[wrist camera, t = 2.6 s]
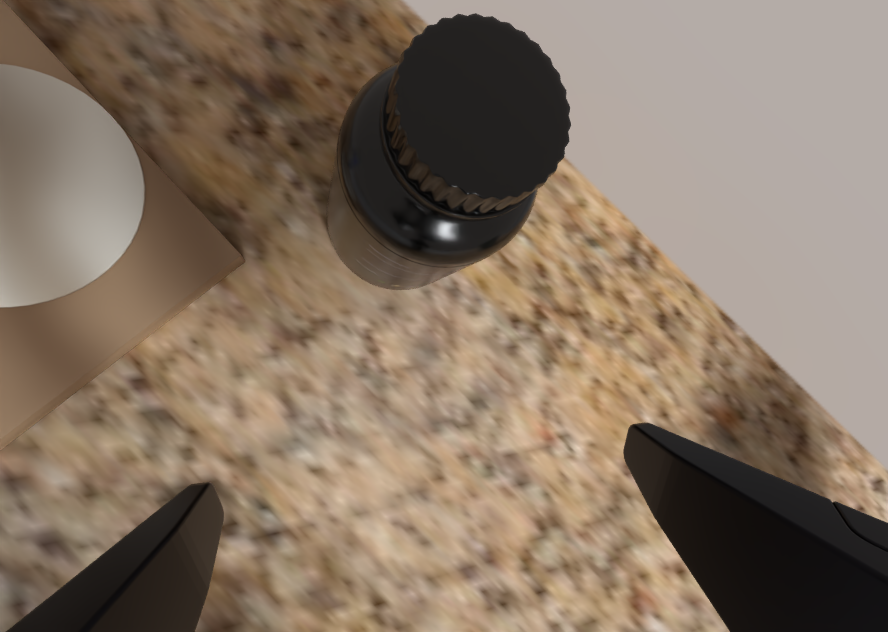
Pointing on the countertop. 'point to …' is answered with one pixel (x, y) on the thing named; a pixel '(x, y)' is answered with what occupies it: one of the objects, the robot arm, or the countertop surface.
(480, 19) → the supplement bottle
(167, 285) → the walnut board
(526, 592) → the countertop surface
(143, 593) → the robot arm
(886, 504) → the countertop surface
